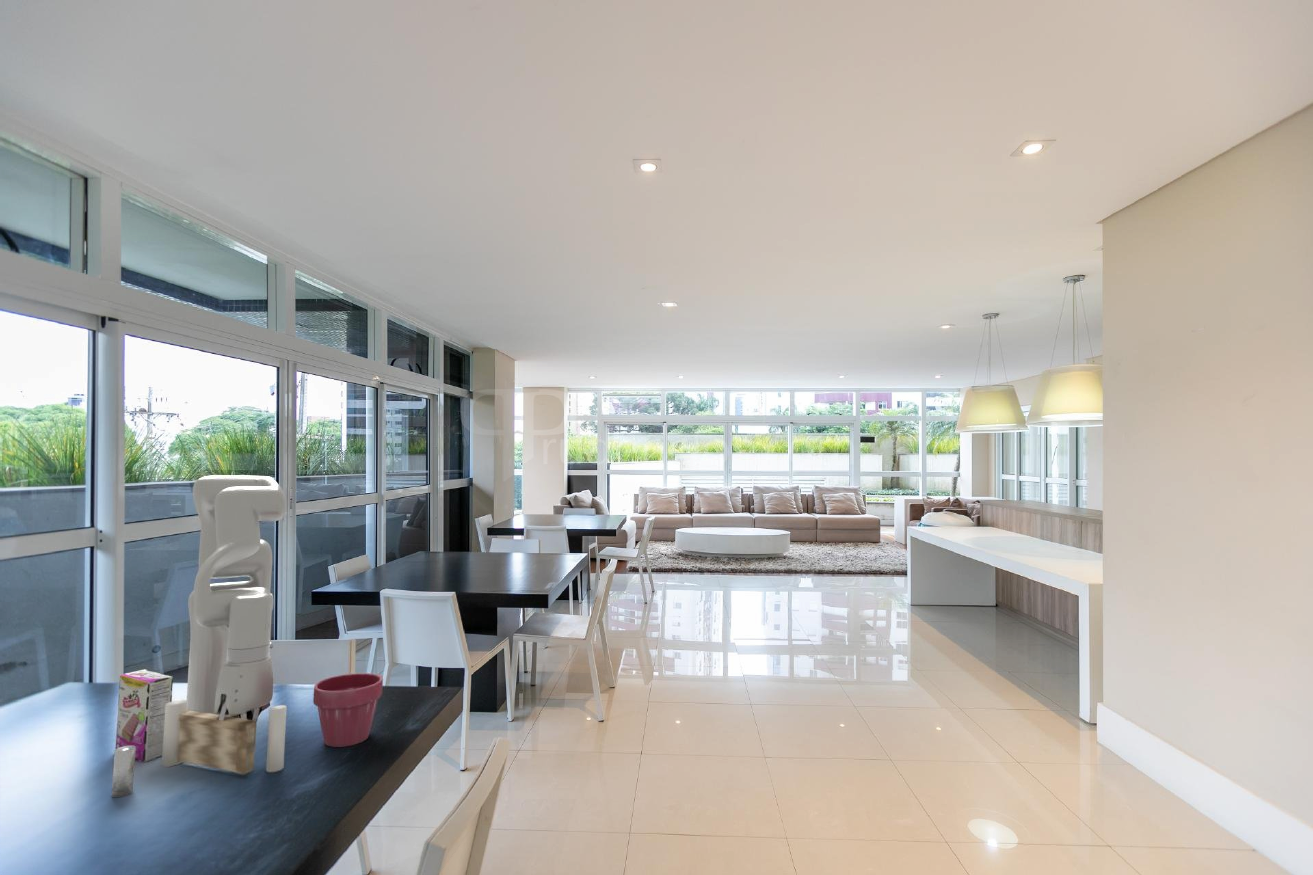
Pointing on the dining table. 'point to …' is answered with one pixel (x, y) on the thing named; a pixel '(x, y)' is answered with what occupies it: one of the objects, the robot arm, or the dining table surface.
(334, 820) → the dining table surface
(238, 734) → the gate
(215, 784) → the dining table surface
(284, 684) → the dining table surface
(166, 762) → the gate posts
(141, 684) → the candy bar box
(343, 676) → the plant pot
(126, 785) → the post
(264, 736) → the dining table surface
